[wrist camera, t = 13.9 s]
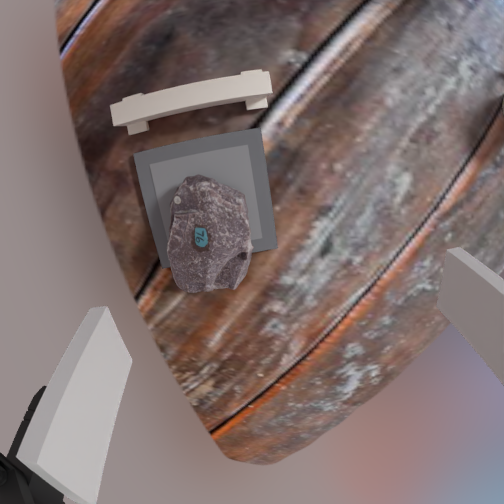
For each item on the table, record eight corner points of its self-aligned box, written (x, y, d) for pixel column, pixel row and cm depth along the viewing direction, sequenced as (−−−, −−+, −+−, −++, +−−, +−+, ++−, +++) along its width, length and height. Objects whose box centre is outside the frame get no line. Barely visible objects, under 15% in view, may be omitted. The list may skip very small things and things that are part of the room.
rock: (248, 169, 29) (254, 179, 25) (251, 270, 34) (256, 294, 30) (165, 175, 28) (157, 187, 24) (178, 276, 33) (175, 300, 29)
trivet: (135, 153, 29) (132, 153, 28) (259, 127, 29) (260, 127, 28) (163, 265, 34) (162, 268, 33) (276, 245, 34) (277, 248, 33)
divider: (125, 99, 26) (108, 95, 22) (260, 71, 26) (267, 60, 22) (131, 134, 28) (115, 136, 23) (266, 107, 28) (274, 103, 23)
